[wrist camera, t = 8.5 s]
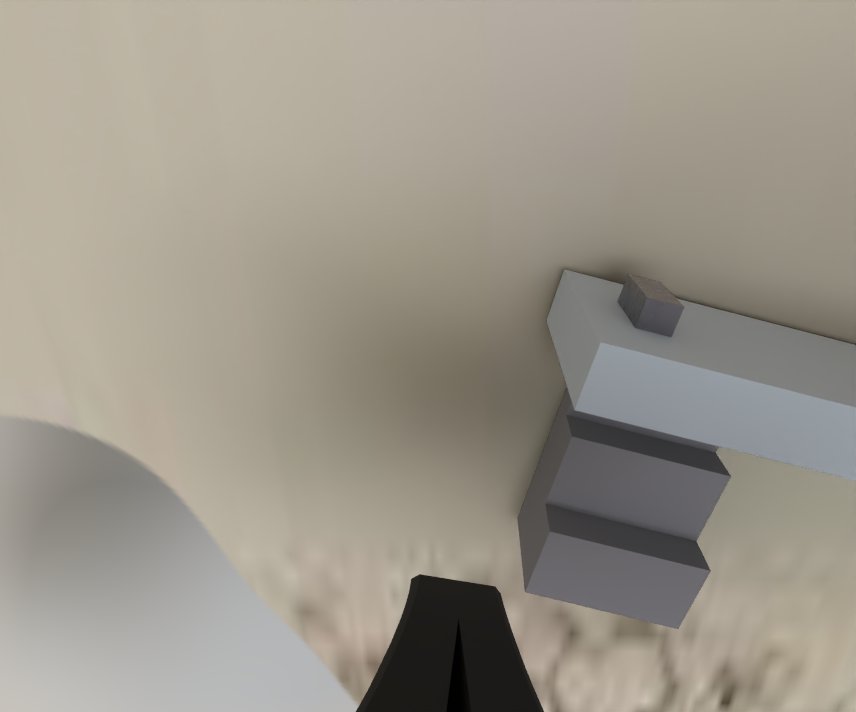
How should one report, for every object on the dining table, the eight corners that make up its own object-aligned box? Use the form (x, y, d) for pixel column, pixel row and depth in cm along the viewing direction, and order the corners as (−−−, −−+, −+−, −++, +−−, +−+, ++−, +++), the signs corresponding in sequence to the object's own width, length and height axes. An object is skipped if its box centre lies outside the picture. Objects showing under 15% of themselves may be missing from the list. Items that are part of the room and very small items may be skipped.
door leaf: (990, 353, 17) (1197, 458, 12) (944, 422, 18) (1119, 547, 13) (573, 244, 16) (614, 308, 12) (546, 320, 17) (574, 409, 12)
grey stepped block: (737, 360, 18) (795, 420, 15) (645, 543, 21) (677, 628, 18) (589, 321, 18) (614, 374, 15) (517, 511, 21) (524, 591, 18)
